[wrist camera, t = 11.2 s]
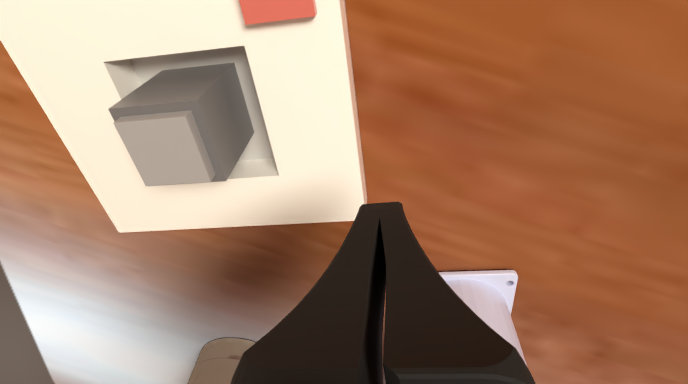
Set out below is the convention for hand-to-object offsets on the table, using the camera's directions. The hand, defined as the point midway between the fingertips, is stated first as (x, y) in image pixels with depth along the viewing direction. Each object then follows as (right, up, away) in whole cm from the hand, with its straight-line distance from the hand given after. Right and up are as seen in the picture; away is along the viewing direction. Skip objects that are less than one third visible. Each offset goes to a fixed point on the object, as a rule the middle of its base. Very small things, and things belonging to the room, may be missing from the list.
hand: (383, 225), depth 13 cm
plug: (-9, +6, +8) cm, 13 cm away
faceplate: (-9, +6, +9) cm, 14 cm away
